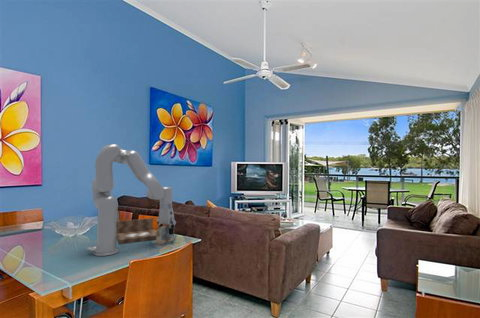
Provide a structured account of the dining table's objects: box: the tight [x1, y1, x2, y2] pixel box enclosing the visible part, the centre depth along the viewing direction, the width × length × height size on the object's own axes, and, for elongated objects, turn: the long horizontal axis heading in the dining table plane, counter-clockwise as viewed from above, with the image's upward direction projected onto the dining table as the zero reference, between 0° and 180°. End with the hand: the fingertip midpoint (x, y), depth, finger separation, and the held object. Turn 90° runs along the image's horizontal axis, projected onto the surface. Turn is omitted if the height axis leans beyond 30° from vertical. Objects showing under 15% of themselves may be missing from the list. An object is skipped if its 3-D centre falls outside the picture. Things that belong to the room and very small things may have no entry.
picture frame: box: [155, 224, 175, 245], centre depth 171 cm, size 12×5×10 cm, turn 145°
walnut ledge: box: [116, 217, 157, 245], centre depth 179 cm, size 24×20×10 cm
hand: (166, 233), depth 171 cm, fingers open, 9 cm apart
